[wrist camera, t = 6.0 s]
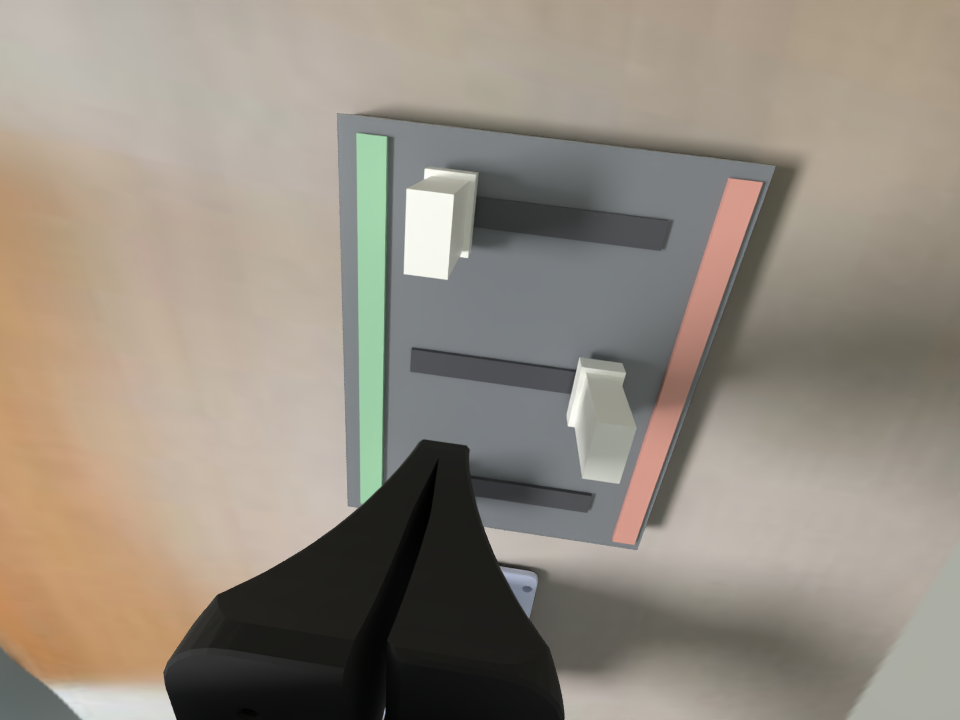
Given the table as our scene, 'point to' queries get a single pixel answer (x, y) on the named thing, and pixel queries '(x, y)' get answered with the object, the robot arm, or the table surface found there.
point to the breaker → (439, 221)
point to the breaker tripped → (601, 419)
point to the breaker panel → (533, 312)
